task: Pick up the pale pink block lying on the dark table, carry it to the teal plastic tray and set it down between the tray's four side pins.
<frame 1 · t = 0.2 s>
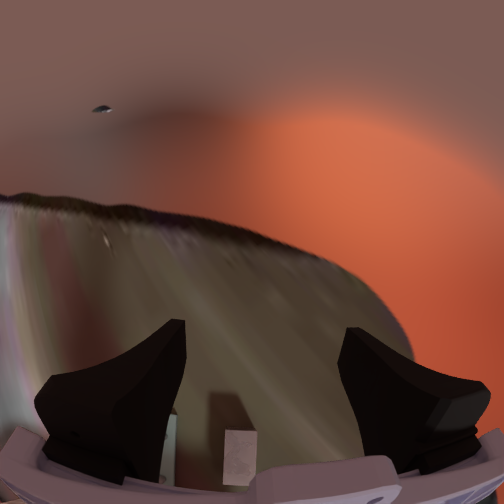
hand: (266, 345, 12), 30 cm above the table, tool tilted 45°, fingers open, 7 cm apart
pale pink block: (239, 452, 34), on the table
tray: (142, 452, 32), on the table
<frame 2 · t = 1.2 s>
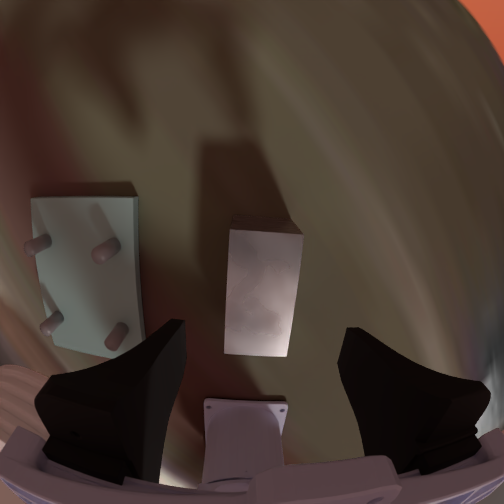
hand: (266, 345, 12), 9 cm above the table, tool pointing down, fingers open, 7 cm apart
pale pink block: (258, 270, 21), on the table
tray: (87, 280, 21), on the table
plate stack: (64, 437, 29), on the table
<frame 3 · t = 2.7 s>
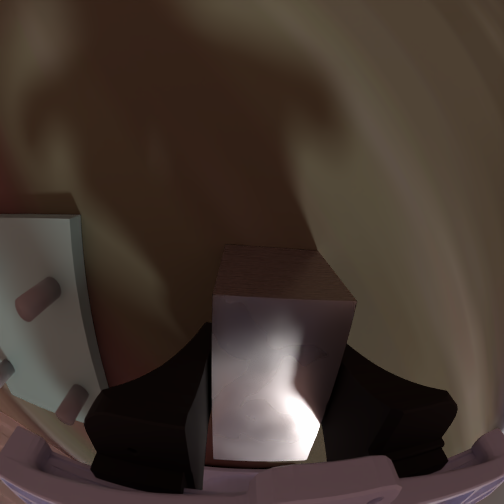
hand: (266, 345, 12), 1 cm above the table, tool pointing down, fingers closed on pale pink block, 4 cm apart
pale pink block: (264, 328, 14), on the table, touching gripper
tray: (33, 326, 14), on the table
plate stack: (45, 473, 21), on the table
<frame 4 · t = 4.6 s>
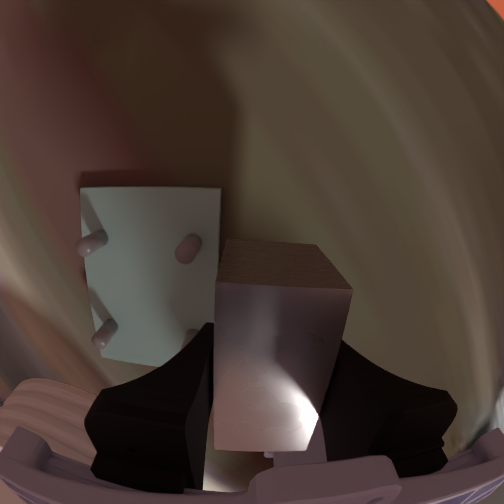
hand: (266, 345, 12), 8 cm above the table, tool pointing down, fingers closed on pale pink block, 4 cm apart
pale pink block: (264, 320, 14), point 7 cm above the table, touching gripper
tray: (150, 283, 20), on the table
plate stack: (97, 451, 28), on the table
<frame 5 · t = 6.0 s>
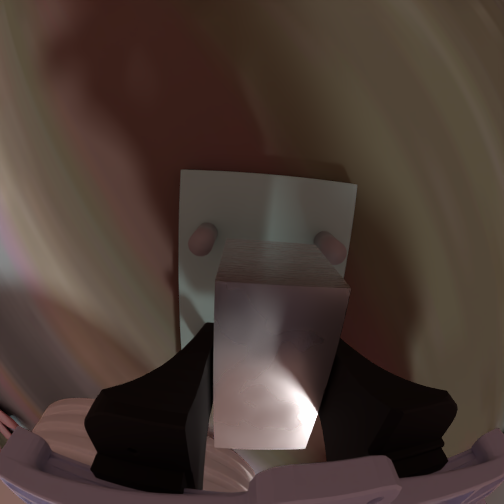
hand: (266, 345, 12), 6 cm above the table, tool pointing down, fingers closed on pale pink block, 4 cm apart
pale pink block: (263, 320, 14), point 4 cm above the table, touching gripper
tray: (260, 286, 18), on the table
plate stack: (143, 471, 26), on the table
when the fingers open (4 cm above the table, at t = 6.8 s): pale pink block stays where it is, resting on tray.
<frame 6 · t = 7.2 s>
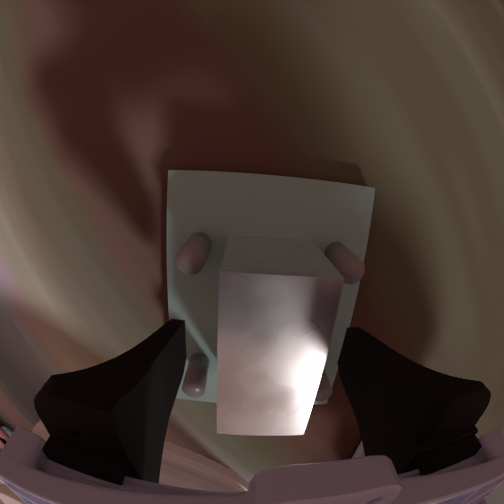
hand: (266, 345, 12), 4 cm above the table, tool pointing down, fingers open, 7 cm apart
pale pink block: (263, 311, 15), point 1 cm above the table, touching tray
tray: (261, 304, 16), on the table
plate stack: (138, 486, 24), on the table
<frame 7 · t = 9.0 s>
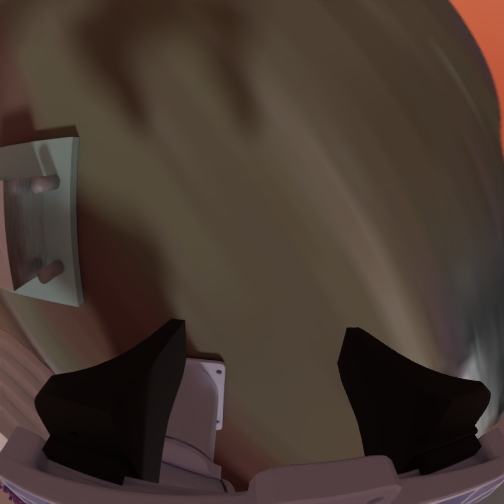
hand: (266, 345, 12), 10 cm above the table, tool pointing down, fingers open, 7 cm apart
pale pink block: (28, 222, 19), point 1 cm above the table, touching tray
tray: (34, 221, 20), on the table
plate stack: (22, 402, 27), on the table
cell model: (32, 479, 37), on the table
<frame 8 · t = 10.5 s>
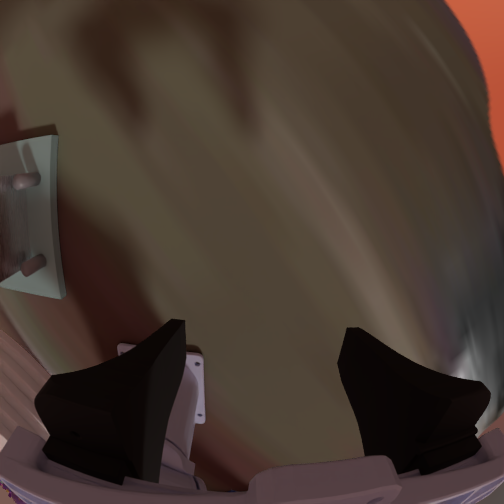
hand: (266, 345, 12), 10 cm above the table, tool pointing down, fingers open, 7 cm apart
pale pink block: (13, 218, 19), point 1 cm above the table, touching tray
tray: (20, 217, 20), on the table
plate stack: (16, 397, 28), on the table
cell model: (31, 475, 38), on the table
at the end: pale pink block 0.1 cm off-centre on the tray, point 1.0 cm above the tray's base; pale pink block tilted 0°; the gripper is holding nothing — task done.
